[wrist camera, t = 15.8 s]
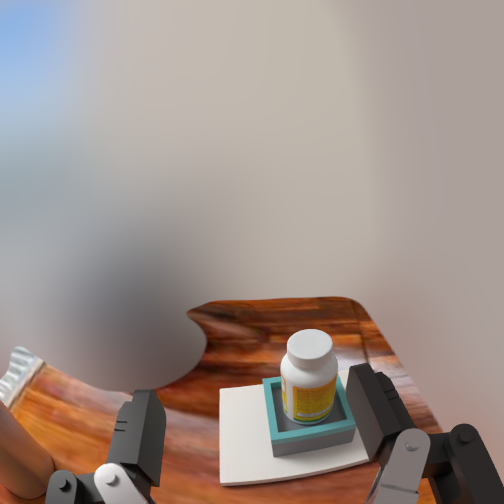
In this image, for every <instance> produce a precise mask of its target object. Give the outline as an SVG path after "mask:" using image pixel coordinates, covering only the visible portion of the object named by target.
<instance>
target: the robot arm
mask: <svg viewBox="0 0 504 504" xmlns="http://www.w3.org/2000/svg"><path fill="white" fill-rule="evenodd" d="M346 398H347V402H348V405H349V407H350V410H351V412H352V415H353V418H354V420H355V423H356V426H357V428H358V431H359V434H360V436H361V439H362V442H363V444H364V447H365V450H366V453H367V455H368V458H369V461H370V463H372V462H375V461H379V464H380V469H379V471H378V473H377V476H376V478H375V480H374V483H373V485H372V487H371V489H370V492H369V494H368V496H367V498H366V500H365V502H364V504H416V503H417V500H418V495H419V493H418V492H417V489H418V486H419V483H420V480H421V479H422V478H428V480H429V483H430V486H431V488H432V491H433V494H434V497H435V500H436V503H437V504H504V487H503V484H502V482H501V480H500V477H499V475H498V473H497V470H496V468H495V466H494V464H493V462H492V460H491V458H490V455H489V453H488V451H487V449H486V447H485V445H484V443H483V441H482V439H481V437H480V436H479V433H478V431H477V430H476V429H475V428H474V427H473V426H471V425H469V424H459V425H457V426H455V427H454V428H453V429H452V430H451V432H448V433H439V434H427V433H425V432H424V431H422V430H420V429H418V428H417V427H416V426H415V425H414V423H413V421H412V419H411V417H410V415H409V413H408V411H407V410H406V408H405V406H404V404H403V402H402V400H401V398H399V394H398V392H397V391H396V390H395V387H394V385H393V383H392V381H391V379H390V378H388V377H387V376H386V375H385V374H384V373H382V372H378V373H374V372H373V370H372V368H371V366H370V364H369V363H363V364H359V365H354V366H351V367H350V368H349V374H348V379H347V385H346ZM116 422H117V423H116V424H115V428H114V430H115V431H114V432H113V436H112V440H111V444H110V449H109V453H108V458H107V461H106V463H105V465H102V466H101V467H99V468H98V469H97V471H96V472H94V473H90V474H83V475H74V474H72V473H71V472H70V471H68V470H58V471H56V472H54V465H53V461H52V459H51V457H50V455H49V454H48V453H47V452H46V451H45V450H44V449H43V448H42V447H41V446H40V445H39V444H38V443H37V442H36V441H35V440H34V439H33V437H32V436H31V435H30V434H29V433H28V432H27V431H26V430H25V429H24V427H23V426H22V425H21V424H20V423H19V422H18V421H17V419H16V418H15V417H14V416H13V415H12V413H11V412H10V411H9V410H8V409H7V407H6V406H5V405H4V403H3V402H2V401H1V400H0V483H1V484H2V485H3V486H5V487H6V488H7V489H9V490H10V491H11V492H13V493H14V494H15V495H17V496H19V497H21V498H24V499H34V498H37V497H39V496H41V495H42V494H44V493H45V492H46V491H47V494H46V499H45V504H157V503H156V501H155V500H154V499H153V497H152V496H151V495H150V490H151V486H153V487H159V485H160V474H161V464H162V455H163V446H164V437H165V429H166V414H165V410H164V408H163V406H162V404H161V402H160V400H159V398H158V396H157V394H156V392H155V391H154V390H153V389H139V390H138V389H137V390H135V392H134V395H133V399H132V402H127V401H126V402H125V403H124V404H123V406H122V407H121V408H120V410H119V412H118V416H117V420H116Z"/></svg>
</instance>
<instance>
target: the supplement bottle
mask: <svg viewBox="0 0 504 504" xmlns="http://www.w3.org/2000/svg"><path fill="white" fill-rule="evenodd" d="M337 371H338V362H337V359H336V357H335V355H334V354H333V343H332V339H331V337H330V336H329V335H328V334H326V333H325V332H323V331H320V330H315V329H307V330H302V331H299V332H297V333H295V334H293V335H292V336H291V337H290V338H289V340H288V343H287V354H286V355H285V356H284V358H283V360H282V362H281V383H282V400H283V409H284V412H285V414H286V416H287V417H288V418H289V419H290V420H292V421H294V422H296V423H299V424H307V425H309V424H316V423H319V422H321V421H323V420H324V419H325V418H327V417H328V416H329V414H330V413H331V411H332V408H333V402H334V395H335V388H336V380H337Z"/></svg>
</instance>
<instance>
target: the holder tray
mask: <svg viewBox="0 0 504 504" xmlns="http://www.w3.org/2000/svg"><path fill="white" fill-rule="evenodd" d="M348 374H349V369H346V370H342V371H337V380H336V388H335V395H334V402H333V408H332V411H331V413H330V414H329V416H328V417H327V418H325V419H324V420H323V421H321V422H319V423H316V424H309V425H307V424H299V423H296V422H294V421H292V420H290V419H289V418H288V417H287V416H286V414H285V412H284V409H283V400H282V383H281V377H274V378H267V379H263V384H262V385H254V386H246V387H236V388H226V389H220V484H221V485H222V486H233V485H247V484H258V483H267V482H275V481H282V480H289V479H295V478H301V477H307V476H312V475H317V474H322V473H326V472H331V471H335V470H339V469H343V468H347V467H351V466H355V465H358V464H362V463H365V462H369V458H368V455H367V453H366V450H365V447H364V444H363V442H362V439H361V436H360V434H359V431H358V428H357V426H356V423H355V420H354V418H353V415H352V412H351V410H350V407H349V405H348V402H347V398H346V385H347V379H348Z"/></svg>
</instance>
